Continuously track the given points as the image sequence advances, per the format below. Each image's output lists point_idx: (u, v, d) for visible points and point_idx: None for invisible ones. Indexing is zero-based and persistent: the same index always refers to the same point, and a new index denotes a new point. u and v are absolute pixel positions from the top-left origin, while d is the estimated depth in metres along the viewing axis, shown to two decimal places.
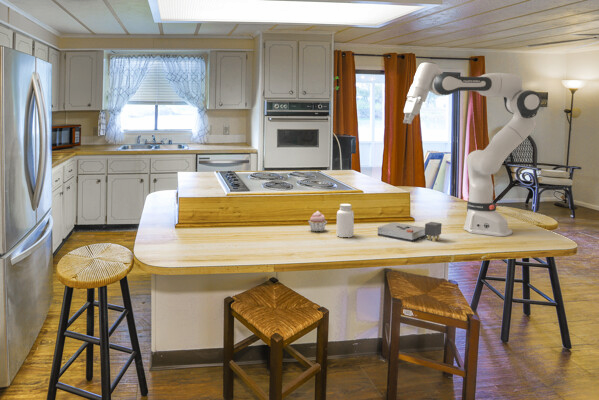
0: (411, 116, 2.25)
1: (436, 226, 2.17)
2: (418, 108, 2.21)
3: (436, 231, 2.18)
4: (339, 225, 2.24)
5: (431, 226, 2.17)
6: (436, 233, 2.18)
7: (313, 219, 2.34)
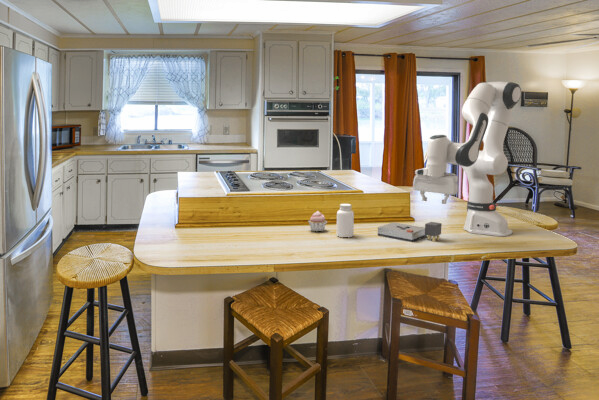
0: (447, 196, 2.13)
1: (436, 226, 2.17)
2: (457, 187, 2.11)
3: (436, 231, 2.18)
4: (339, 225, 2.24)
5: (431, 226, 2.17)
6: (436, 233, 2.18)
7: (313, 219, 2.34)
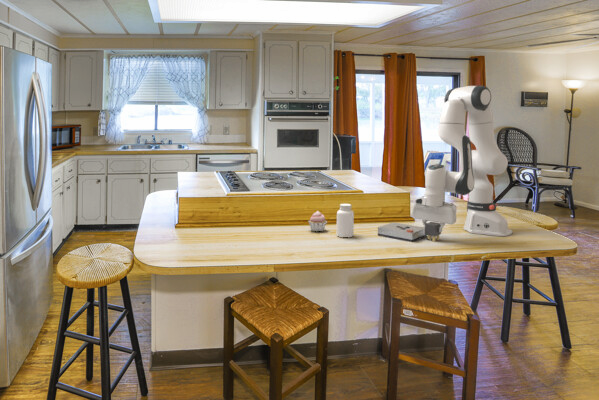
0: (443, 225, 2.17)
1: (436, 226, 2.17)
2: (455, 217, 2.13)
3: (436, 231, 2.18)
4: (339, 225, 2.24)
5: (431, 226, 2.17)
6: (436, 233, 2.18)
7: (313, 219, 2.34)
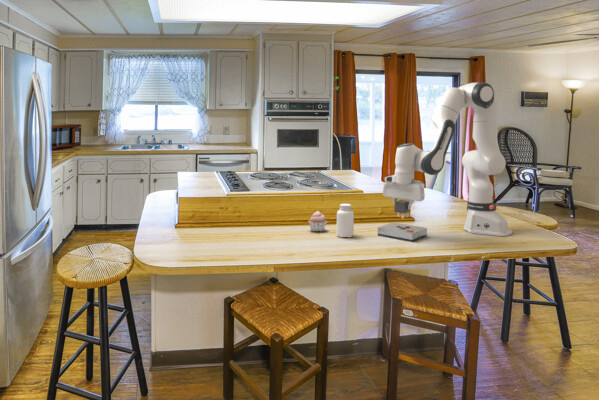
0: (412, 202, 2.22)
1: (405, 203, 2.22)
2: (423, 194, 2.19)
3: (405, 208, 2.23)
4: (339, 225, 2.24)
5: (401, 203, 2.23)
6: (405, 210, 2.23)
7: (313, 219, 2.34)
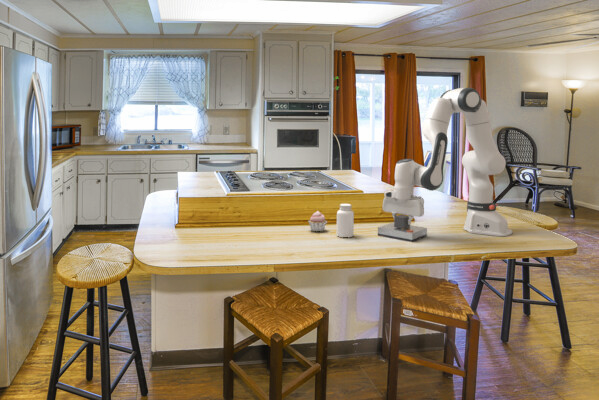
0: (411, 217, 2.23)
1: (405, 219, 2.23)
2: (423, 210, 2.20)
3: (405, 223, 2.24)
4: (339, 225, 2.24)
5: (400, 218, 2.24)
6: (405, 225, 2.24)
7: (313, 219, 2.34)
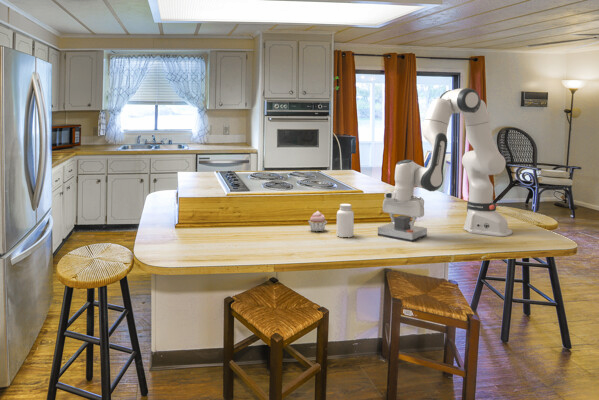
0: (414, 219, 2.22)
1: (405, 219, 2.24)
2: (423, 210, 2.20)
3: (405, 224, 2.24)
4: (339, 225, 2.24)
5: (400, 219, 2.24)
6: (405, 226, 2.24)
7: (313, 219, 2.34)
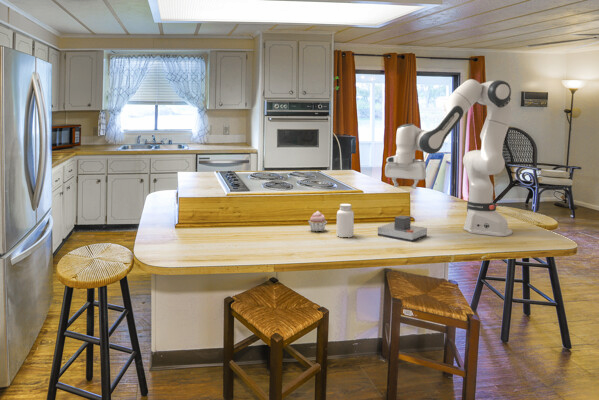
0: (417, 181, 2.26)
1: (405, 219, 2.24)
2: (425, 173, 2.24)
3: (405, 224, 2.24)
4: (339, 225, 2.24)
5: (400, 219, 2.24)
6: (405, 226, 2.24)
7: (313, 219, 2.34)
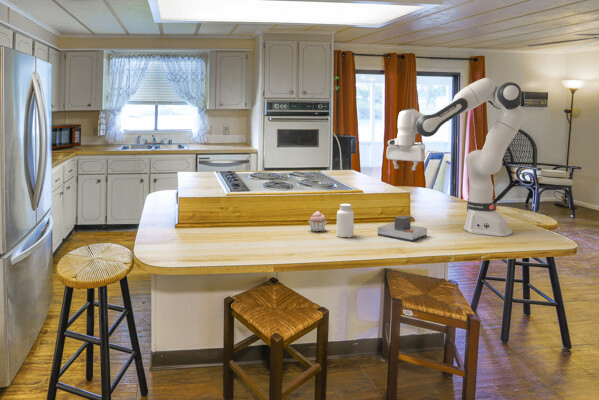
0: (416, 163, 2.38)
1: (405, 219, 2.24)
2: (424, 155, 2.36)
3: (405, 224, 2.24)
4: (339, 225, 2.24)
5: (400, 219, 2.24)
6: (405, 226, 2.24)
7: (313, 219, 2.34)
